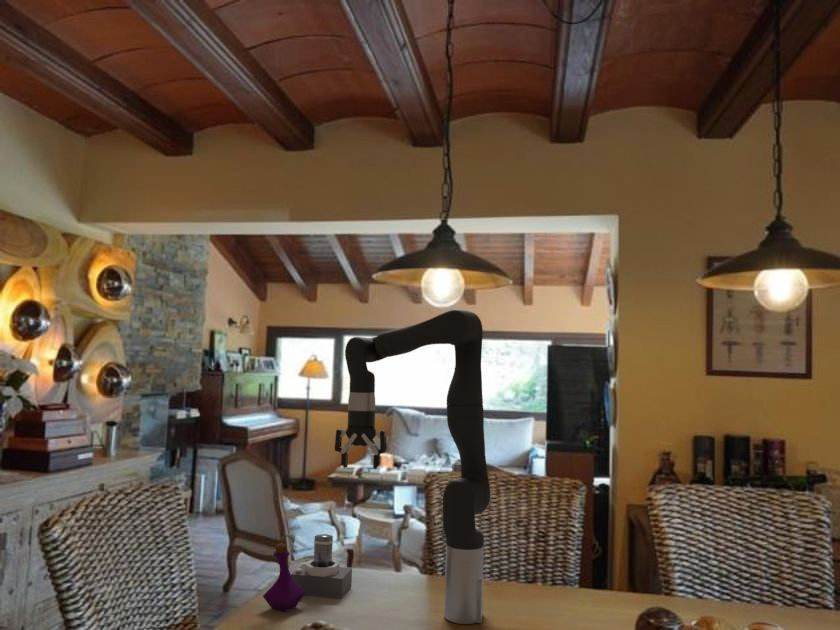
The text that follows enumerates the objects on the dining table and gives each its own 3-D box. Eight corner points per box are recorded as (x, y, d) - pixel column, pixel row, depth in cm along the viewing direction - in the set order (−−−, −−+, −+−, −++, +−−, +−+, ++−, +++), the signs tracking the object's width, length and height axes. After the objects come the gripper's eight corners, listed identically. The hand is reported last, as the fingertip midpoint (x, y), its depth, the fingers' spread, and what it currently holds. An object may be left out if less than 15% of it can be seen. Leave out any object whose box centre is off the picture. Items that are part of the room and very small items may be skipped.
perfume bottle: (261, 609, 155) (265, 534, 157) (281, 600, 162) (285, 528, 163) (285, 616, 152) (289, 539, 153) (305, 606, 159) (308, 532, 160)
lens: (334, 568, 172) (335, 534, 173) (328, 574, 167) (329, 539, 168) (316, 567, 173) (317, 533, 174) (310, 573, 168) (311, 537, 169)
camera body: (351, 586, 173) (352, 560, 174) (341, 598, 164) (342, 570, 165) (302, 582, 176) (303, 556, 176) (290, 593, 167) (291, 566, 167)
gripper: (389, 408, 179) (388, 467, 178) (340, 407, 182) (339, 465, 180) (383, 410, 172) (382, 471, 171) (333, 408, 174) (331, 469, 173)
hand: (360, 467), depth 175 cm, fingers open, 8 cm apart
